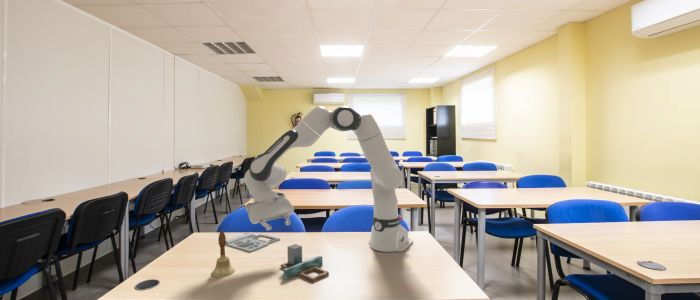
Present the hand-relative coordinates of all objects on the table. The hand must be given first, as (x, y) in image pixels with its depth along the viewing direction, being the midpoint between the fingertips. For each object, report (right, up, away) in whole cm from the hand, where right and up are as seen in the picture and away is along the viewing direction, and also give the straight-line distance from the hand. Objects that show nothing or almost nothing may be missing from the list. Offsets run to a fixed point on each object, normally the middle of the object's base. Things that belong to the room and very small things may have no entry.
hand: (279, 226), depth 134 cm
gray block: (+8, -15, -6) cm, 18 cm away
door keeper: (+12, -15, -10) cm, 21 cm away
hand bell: (-19, -15, -10) cm, 27 cm away
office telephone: (-20, -14, +25) cm, 35 cm away
